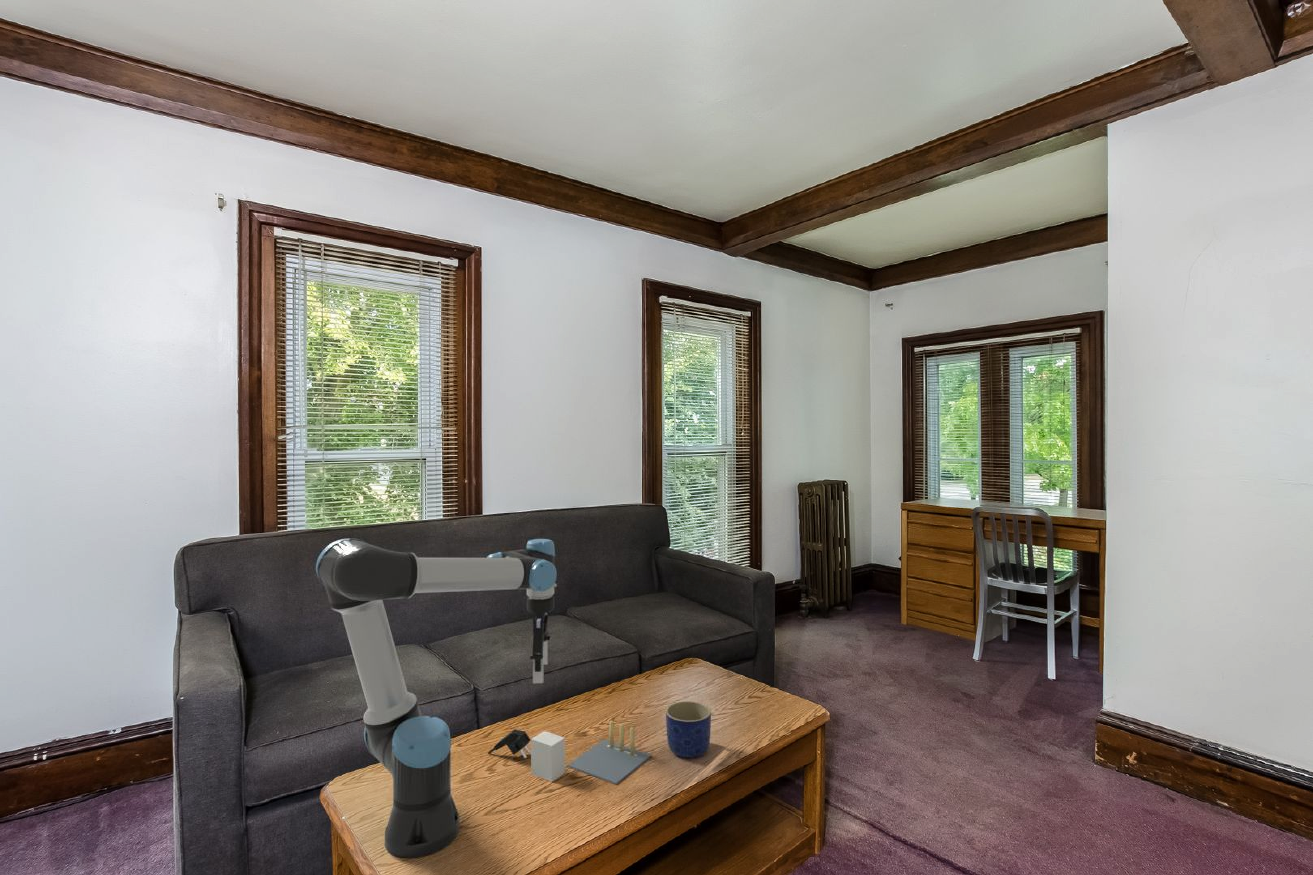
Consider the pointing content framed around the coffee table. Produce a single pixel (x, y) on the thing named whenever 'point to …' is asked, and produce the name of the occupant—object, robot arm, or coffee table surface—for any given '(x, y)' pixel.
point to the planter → (688, 728)
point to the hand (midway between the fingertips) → (540, 673)
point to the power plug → (514, 742)
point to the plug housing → (548, 756)
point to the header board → (611, 758)
